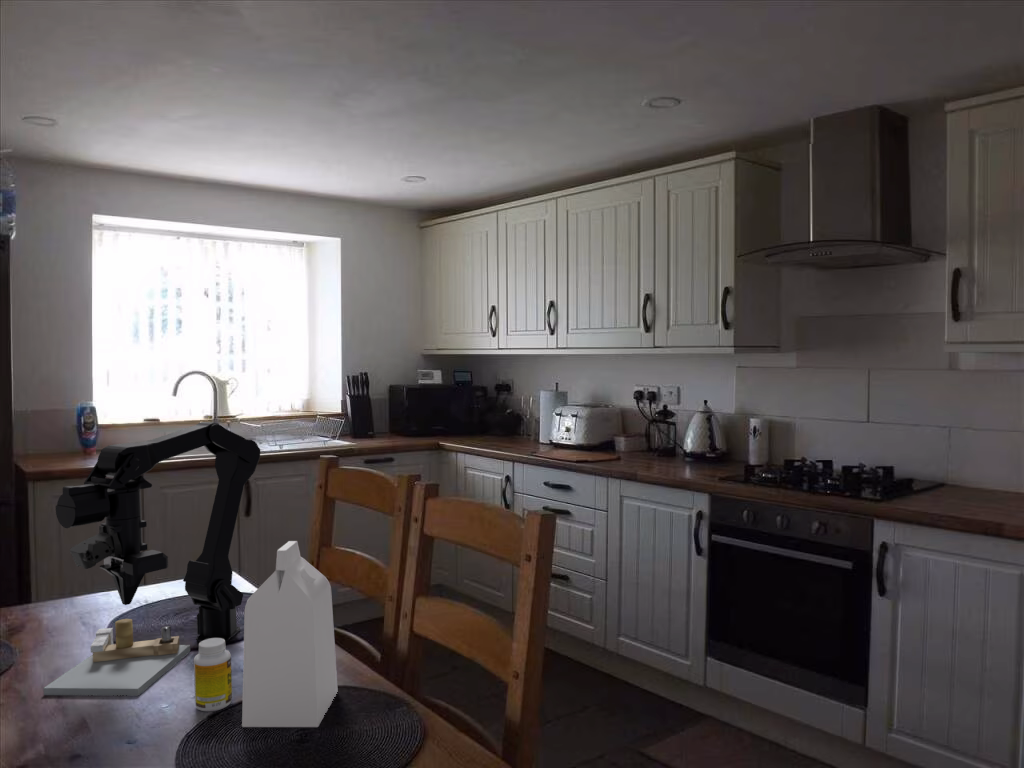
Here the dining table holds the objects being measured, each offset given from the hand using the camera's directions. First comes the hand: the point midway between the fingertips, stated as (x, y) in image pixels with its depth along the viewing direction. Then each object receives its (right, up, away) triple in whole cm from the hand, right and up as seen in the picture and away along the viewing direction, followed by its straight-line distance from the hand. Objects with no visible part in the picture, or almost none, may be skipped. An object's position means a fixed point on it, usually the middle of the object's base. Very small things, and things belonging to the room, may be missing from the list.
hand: (126, 604), depth 141 cm
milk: (+33, -12, -15) cm, 39 cm away
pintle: (+4, -10, +6) cm, 13 cm away
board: (-1, -12, 0) cm, 12 cm away
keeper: (-6, -11, +4) cm, 13 cm away
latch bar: (0, -10, +5) cm, 11 cm away
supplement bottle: (+21, -13, -14) cm, 28 cm away
